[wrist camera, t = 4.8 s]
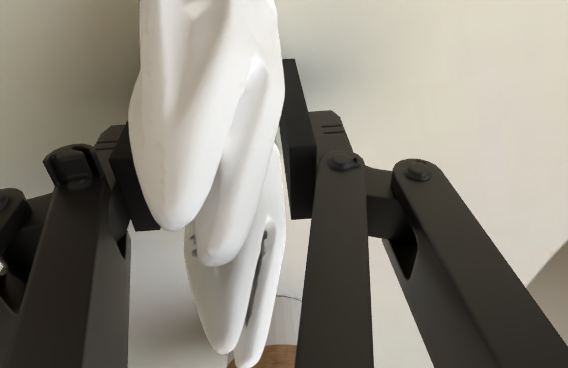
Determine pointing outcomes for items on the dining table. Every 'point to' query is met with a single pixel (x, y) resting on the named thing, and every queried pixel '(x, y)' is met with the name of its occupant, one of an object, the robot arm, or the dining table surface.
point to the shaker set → (215, 156)
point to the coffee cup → (279, 336)
